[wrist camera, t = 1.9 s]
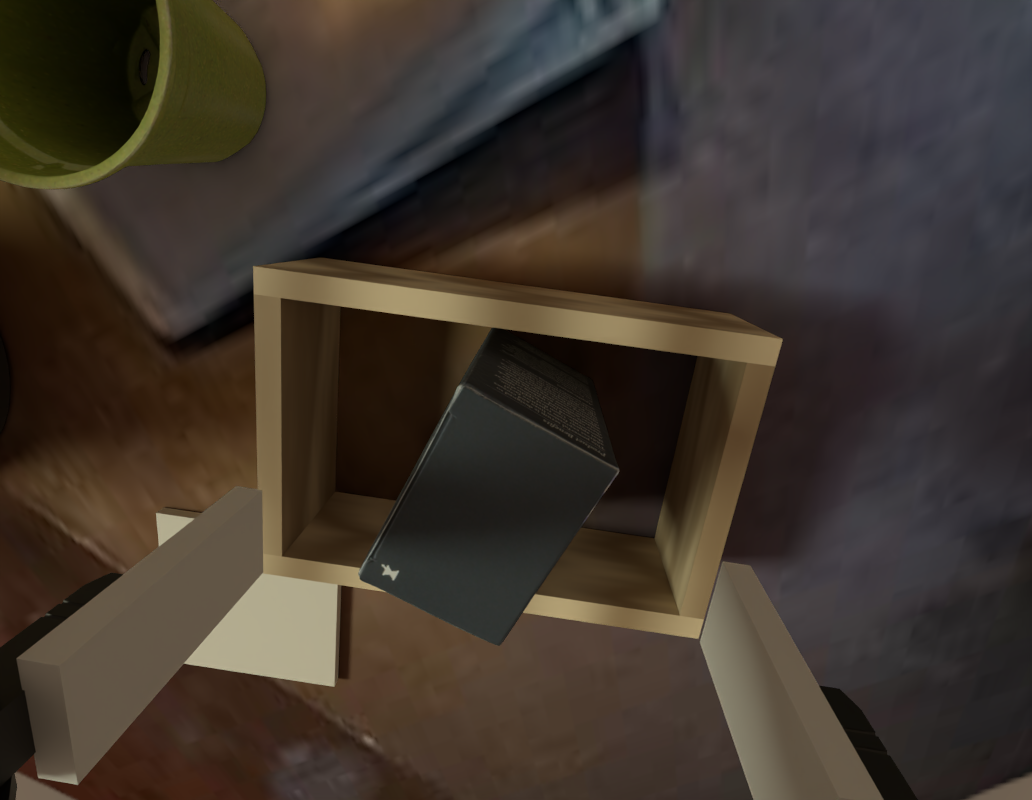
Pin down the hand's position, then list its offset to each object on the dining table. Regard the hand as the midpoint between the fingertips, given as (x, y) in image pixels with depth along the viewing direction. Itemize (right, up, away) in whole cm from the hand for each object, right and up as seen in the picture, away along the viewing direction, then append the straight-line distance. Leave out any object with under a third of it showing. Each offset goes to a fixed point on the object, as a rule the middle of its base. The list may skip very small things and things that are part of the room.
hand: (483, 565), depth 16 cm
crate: (0, +4, +12) cm, 12 cm away
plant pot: (-13, +18, +8) cm, 24 cm away
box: (0, +4, +12) cm, 13 cm away
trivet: (-14, -7, +16) cm, 22 cm away
